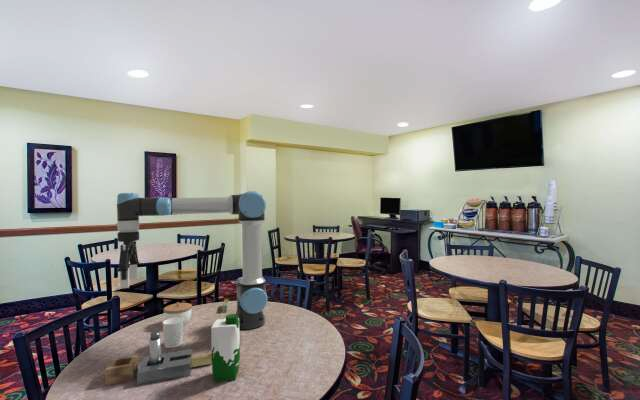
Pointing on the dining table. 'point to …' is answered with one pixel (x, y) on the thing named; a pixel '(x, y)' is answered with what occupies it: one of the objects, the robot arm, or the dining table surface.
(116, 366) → the tan wooden open box
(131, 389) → the dining table surface
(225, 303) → the medication box
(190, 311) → the lidded bowl
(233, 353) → the milk carton
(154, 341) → the grey cylindrical rod
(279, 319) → the dining table surface
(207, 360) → the bar
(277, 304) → the dining table surface
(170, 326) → the white cup
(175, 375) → the socket block
